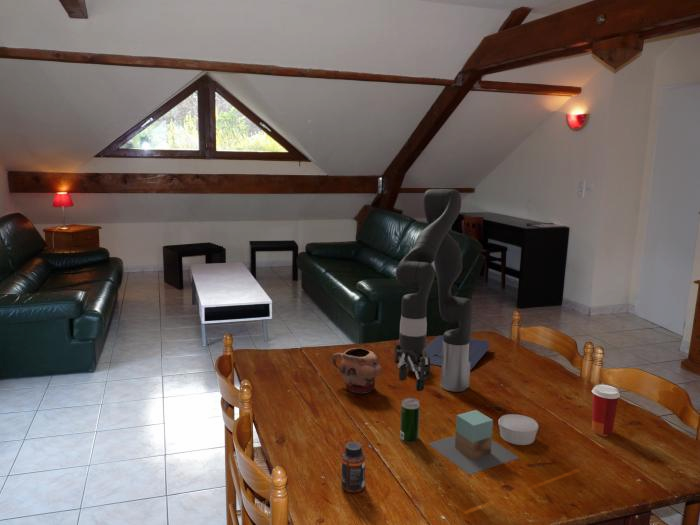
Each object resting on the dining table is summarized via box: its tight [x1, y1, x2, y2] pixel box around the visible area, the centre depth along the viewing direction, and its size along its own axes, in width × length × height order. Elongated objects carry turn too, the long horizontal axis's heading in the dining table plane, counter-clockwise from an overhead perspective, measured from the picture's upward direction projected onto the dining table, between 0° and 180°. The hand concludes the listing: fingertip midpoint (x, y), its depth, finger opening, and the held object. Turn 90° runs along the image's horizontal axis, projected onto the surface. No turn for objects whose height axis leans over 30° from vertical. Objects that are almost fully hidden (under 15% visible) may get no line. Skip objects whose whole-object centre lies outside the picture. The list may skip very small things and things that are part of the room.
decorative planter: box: [331, 347, 383, 394], centre depth 199 cm, size 20×12×14 cm, turn 66°
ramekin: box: [497, 413, 539, 446], centre depth 166 cm, size 11×11×5 cm
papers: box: [425, 334, 491, 371], centre depth 234 cm, size 24×30×4 cm
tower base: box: [455, 431, 493, 459], centre depth 158 cm, size 7×7×5 cm
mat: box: [427, 434, 520, 475], centre depth 159 cm, size 18×18×1 cm
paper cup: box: [591, 384, 621, 436], centre depth 170 cm, size 8×8×14 cm
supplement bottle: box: [341, 441, 366, 494], centre depth 141 cm, size 6×6×11 cm
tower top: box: [455, 409, 494, 443], centre depth 157 cm, size 7×7×5 cm
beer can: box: [399, 397, 421, 444], centre depth 164 cm, size 5×5×12 cm
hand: (411, 385), depth 162 cm, fingers open, 8 cm apart
